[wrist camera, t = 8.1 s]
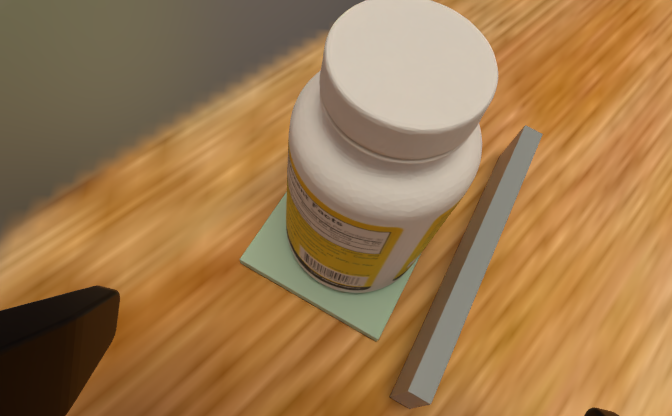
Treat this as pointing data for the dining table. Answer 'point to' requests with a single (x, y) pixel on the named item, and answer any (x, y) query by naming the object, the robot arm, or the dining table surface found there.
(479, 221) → the acrylic wall
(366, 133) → the supplement bottle
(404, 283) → the coaster
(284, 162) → the dining table surface
